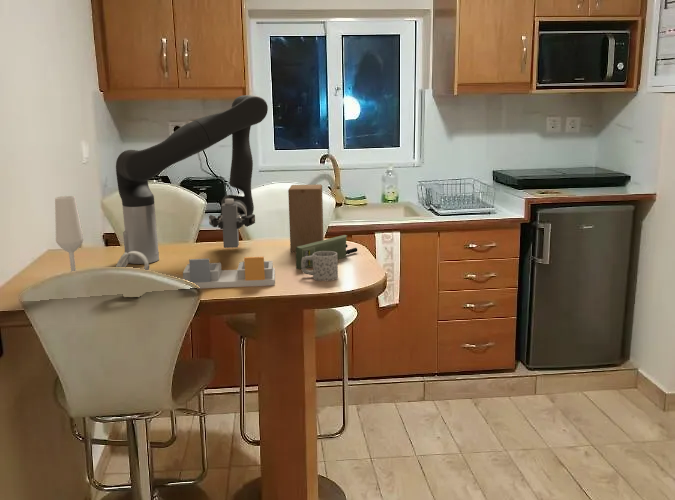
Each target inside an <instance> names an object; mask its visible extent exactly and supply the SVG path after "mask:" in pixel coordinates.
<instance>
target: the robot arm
mask: <svg viewBox="0 0 675 500" xmlns="http://www.w3.org/2000/svg"><path fill="white" fill-rule="evenodd" d="M268 109H269V106H268V103H267V102H266V100H265V99H264V98H263V97H261V96H259V95H256V94H247V95H240V96H238V97H237V96H236V98H234V100H233V101H232V104H231V107H230V108H228V109H225V110H224V111H220V112H216V113H212V114H208V115H206V116H202V117H199V118H196V119H194V120H192V121H190V122H188V123H186V124H184V125H182V126H180V127H178V128H177V129H176V130H175V131H174V132H173V133H171V134H170V135H169V136H168V137H167V138H166V139H165V140H163V141H162V142H160V143H157V144H155V145H153V146H150V147H147V148H145V149H140V150H138V149H137V150H135V149H127V150H124V151H122V152H120V154H119V155H118V157H117V158H116V162H115V174H116V180H117V181H116V182H117V189H118V194H119V197H120V199H121V204H122V215H123V227H124V231H123V232H122V234H123V235H122V236H123V247H124V253H125V252H127V253H129V252H130V251H138V252H141V253H143V254H144V255H145V256H146V258H147V259H148V261H149V264H151V263H154V262H157V261H159V260H160V252H159V242H158V230H157V218H156V206H155V195H154V194H153V192H152V191H151V189H150V187H149V186H150V185H149V180H151V179H153V178H154V177H155V176H157V175H159V174H160V173H162V172H163V171H164V170H166V169H168V168H170V167H171V166H173V165H174V164H176V163H179V162H181V161H184V160H186V159H188V158H190V157H192V156H195V155H197V154H198V153H200V152H202V151H205V150H207V149H209V148H210V147H213V145H215V144H217V143H219V142H221V141H223V140H224V139H226V138H227V137H229V136H231V141H232V142H231V146H232V149H231V150H232V151H231V165H230V171H229V182H228V183H229V186H230V187H232V188H234V189H236V190H237V189H238V190H240V191H241V192H242V193H243V196H242V195H235V194H227V195H225V196H224V197H222V200H221V202H220V203H221V204H220V209H221V212H220V214H219V215H218V216H217V217H216V215H211V214H210V215H208V222H209V225H210V226H211V227H213V228H218V229H219V228H220V230H223V221H222V204H224V203H225V199H234V203H237V213H238V219H237V221H236V225H237V229H238V230H239V229H240V228H243V227H244V226H245V227H250V226H252V225H253V224H256V215H255V214H254V210H255V207H254V202H253V201H254V200H253V194H252V177H253V169H254V168H253V166H254V163H253V161H254V160H253V155H252V149H251V144H250V134H251V132H250V131H251V128H252V126H254V125H258V124H260V123H261V122H263V121H264V119H266V117H267V115H268ZM130 256H131V257H130V261H129V263H128V264H133V265H134V264H135V265H140V264H141V265H145V263H144V261H143V260H142V259H141V257H139V256H137V255H134V254H131V255H130Z"/></svg>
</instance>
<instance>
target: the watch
mask: <svg viewBox="0 0 675 500" xmlns="http://www.w3.org/2000/svg"><path fill="white" fill-rule="evenodd" d="M131 254H134V255H137V256H139V257H141V259H142V260H143V261H144V263H145V264H143V265H144V266H143V269H145V270H149V271H150V263H149V261H148V259H147V258H146V256H145V255H144V254H143V253H141V252H138V251H130V252H129V253H127V252H125V251H124V253H123V254H122V255H121V256H120V258H119V259H118V261H117V263H116V265H115V268H116V267H125V268H126V267H127V266H128V264H130V263H129V261H130V257H131V256H130V255H131Z"/></svg>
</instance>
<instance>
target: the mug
mask: <svg viewBox="0 0 675 500" xmlns="http://www.w3.org/2000/svg"><path fill="white" fill-rule="evenodd" d="M306 260H313V267H312V270H308V269H307V268H306V269H305V261H306ZM338 260H339V259H337V253H336V252H333V251H319V252H315V253H313V255H312V256H305V257H303V258H302V260H301V268H302V269H301V271H302V273H303V274H305V275H309V276H312V278H313V280H315V281H318V282H331V281H335V280H337V279H338V278H339V273H338V272H339V269H338V263H339V262H338Z"/></svg>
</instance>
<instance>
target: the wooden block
mask: <svg viewBox="0 0 675 500" xmlns="http://www.w3.org/2000/svg"><path fill="white" fill-rule="evenodd" d="M287 193H288V217H289V218H288V219H289V244H290V245H289V247H290V249H289V250H290V252H291V253H296V247H298V246H302V245H306V244H310V243H314V242H318V241H322V240H325V239H324V212H323V211H324V209H323V208H324V207H323V185H322V184H320V183H319V184H292V185H290V187H289V188H288V190H287Z"/></svg>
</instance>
